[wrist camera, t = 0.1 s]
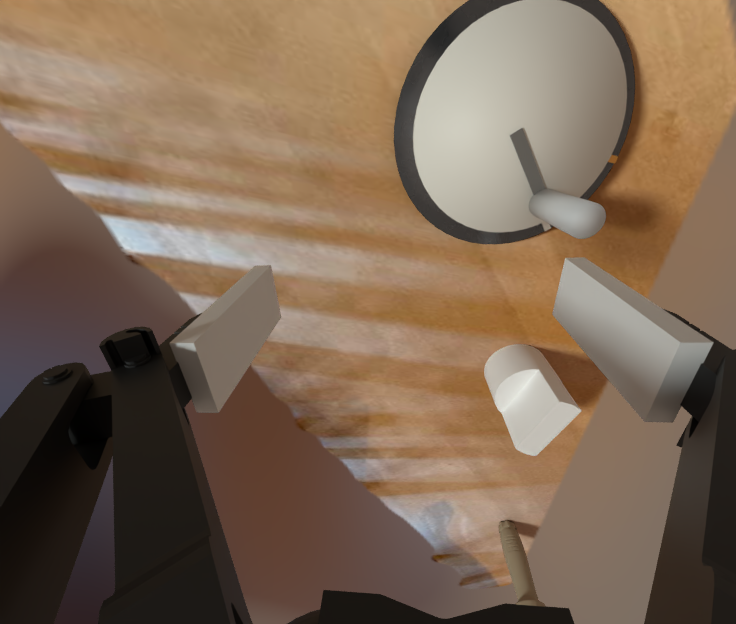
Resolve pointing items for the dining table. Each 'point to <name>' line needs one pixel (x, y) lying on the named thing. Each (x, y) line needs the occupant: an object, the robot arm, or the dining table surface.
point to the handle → (518, 565)
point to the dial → (522, 119)
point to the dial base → (425, 61)
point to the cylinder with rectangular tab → (529, 396)
